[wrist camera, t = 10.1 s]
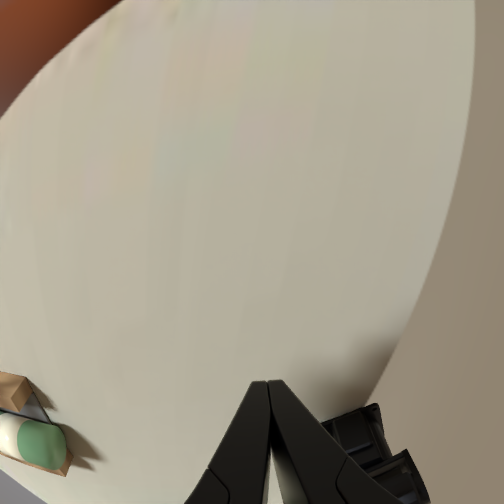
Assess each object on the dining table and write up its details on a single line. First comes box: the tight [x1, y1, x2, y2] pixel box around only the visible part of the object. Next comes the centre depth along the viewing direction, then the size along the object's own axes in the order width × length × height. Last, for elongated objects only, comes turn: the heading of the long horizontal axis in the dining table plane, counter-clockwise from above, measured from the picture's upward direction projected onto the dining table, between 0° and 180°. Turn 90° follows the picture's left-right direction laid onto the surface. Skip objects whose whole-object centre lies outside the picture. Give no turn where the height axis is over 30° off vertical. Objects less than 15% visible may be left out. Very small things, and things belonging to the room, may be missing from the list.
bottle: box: [0, 411, 66, 470], centre depth 24 cm, size 6×6×17 cm
